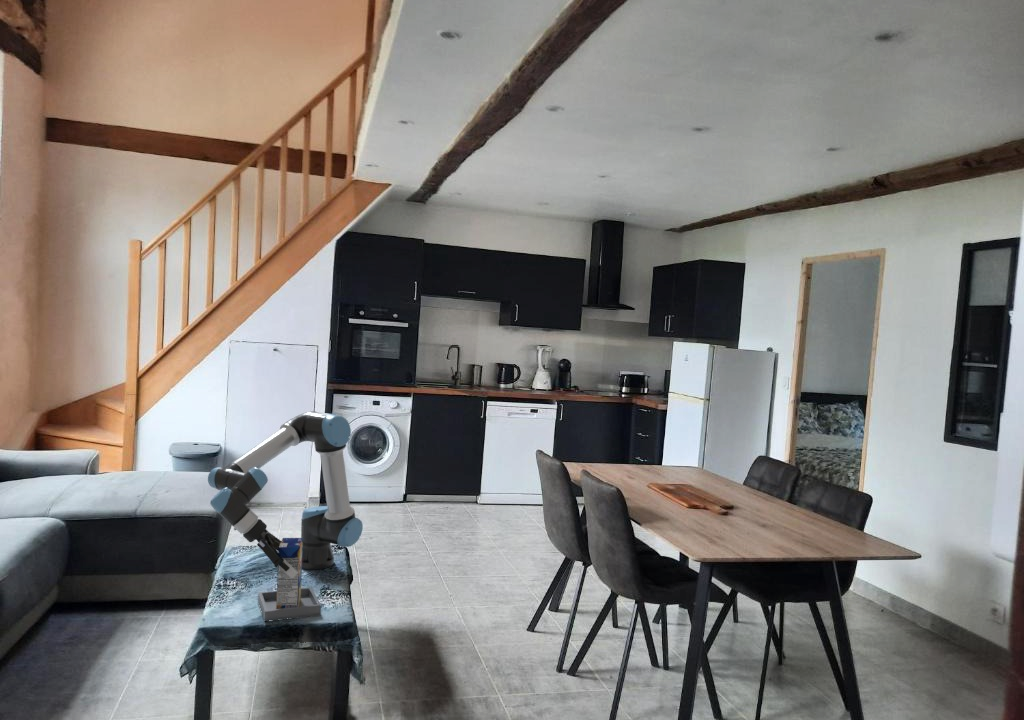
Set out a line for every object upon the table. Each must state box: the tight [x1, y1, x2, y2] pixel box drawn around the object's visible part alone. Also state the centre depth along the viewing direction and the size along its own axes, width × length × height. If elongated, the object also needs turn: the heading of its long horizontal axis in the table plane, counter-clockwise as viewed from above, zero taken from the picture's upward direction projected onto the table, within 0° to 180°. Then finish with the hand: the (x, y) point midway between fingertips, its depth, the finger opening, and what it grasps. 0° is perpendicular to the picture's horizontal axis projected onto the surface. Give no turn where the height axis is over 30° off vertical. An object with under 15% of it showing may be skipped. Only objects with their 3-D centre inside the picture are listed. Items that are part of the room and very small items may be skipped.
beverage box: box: [276, 537, 303, 609], centre depth 249 cm, size 7×11×22 cm, turn 11°
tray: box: [257, 586, 322, 621], centre depth 249 cm, size 18×18×4 cm
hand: (295, 568), depth 249 cm, fingers open, 13 cm apart
